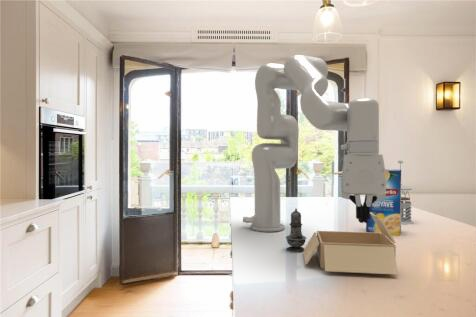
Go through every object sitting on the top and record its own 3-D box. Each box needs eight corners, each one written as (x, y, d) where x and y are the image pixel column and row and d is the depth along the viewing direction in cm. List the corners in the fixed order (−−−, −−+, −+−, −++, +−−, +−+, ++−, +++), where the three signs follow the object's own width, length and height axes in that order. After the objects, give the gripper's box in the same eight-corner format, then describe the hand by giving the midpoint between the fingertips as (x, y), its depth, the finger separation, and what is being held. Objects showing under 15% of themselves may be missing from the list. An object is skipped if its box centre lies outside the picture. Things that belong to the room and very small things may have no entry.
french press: (382, 221, 138) (382, 160, 138) (395, 218, 146) (395, 159, 146) (408, 225, 131) (408, 160, 130) (419, 221, 138) (419, 160, 138)
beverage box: (400, 235, 115) (400, 170, 114) (365, 232, 120) (365, 169, 120) (401, 231, 121) (401, 169, 121) (368, 228, 126) (368, 169, 126)
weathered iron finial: (292, 245, 102) (292, 206, 102) (310, 249, 99) (309, 207, 99) (281, 250, 98) (281, 208, 98) (300, 253, 94) (299, 210, 94)
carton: (306, 274, 78) (306, 246, 78) (302, 249, 98) (302, 227, 98) (400, 278, 75) (400, 249, 75) (377, 252, 95) (377, 229, 95)
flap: (394, 243, 79) (380, 220, 80) (381, 232, 91) (369, 212, 91) (395, 242, 79) (382, 220, 80) (382, 231, 91) (370, 211, 91)
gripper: (333, 148, 83) (333, 224, 83) (398, 148, 81) (398, 225, 81) (330, 149, 90) (330, 218, 91) (389, 149, 88) (389, 219, 88)
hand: (362, 221), depth 86 cm, fingers closed
